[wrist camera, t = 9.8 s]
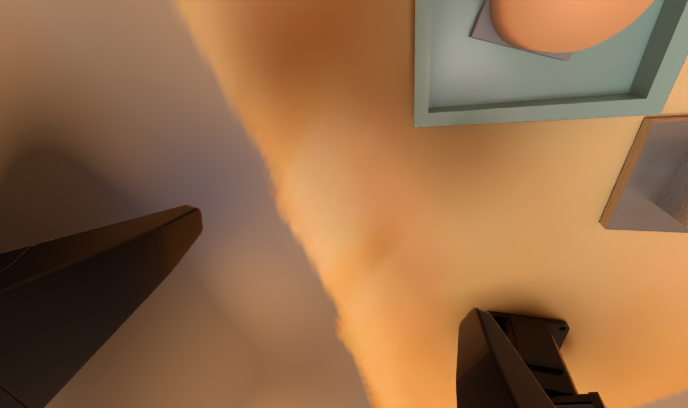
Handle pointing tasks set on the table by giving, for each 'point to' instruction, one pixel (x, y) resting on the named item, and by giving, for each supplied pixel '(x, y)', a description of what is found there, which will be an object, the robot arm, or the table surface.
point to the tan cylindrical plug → (554, 23)
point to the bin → (542, 70)
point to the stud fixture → (653, 180)
